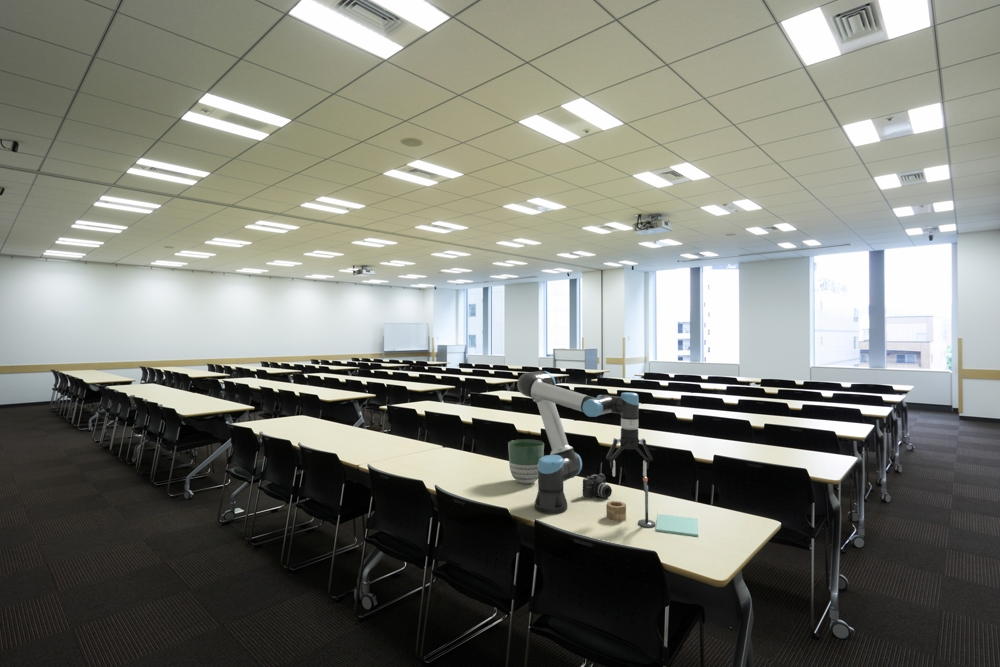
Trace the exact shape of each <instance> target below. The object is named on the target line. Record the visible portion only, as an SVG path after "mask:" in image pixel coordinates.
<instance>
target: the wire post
mask: <svg viewBox="0 0 1000 667" xmlns="http://www.w3.org/2000/svg"><path fill="white" fill-rule="evenodd" d="M648 480H649V478H648V477H647V476H646V477H644V476H643V477H642V481H643V491H644V516H645V518H643V519H639V520H638V521H637V524H638V526H639V527H642V528H648V529H649V528H656V522H655V521H654V520H650V519H649V485H648Z"/></svg>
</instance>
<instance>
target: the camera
mask: <svg viewBox="0 0 1000 667" xmlns="http://www.w3.org/2000/svg"><path fill="white" fill-rule="evenodd" d="M606 479H607V477H606V476H605V474H604V473H599V474H595V473H594V474H591V475H590V476H588V475H587V477H585V478H582V497H584V498H583V499H589V498H593V497H596V496H598V497H600V498H604V499H608V498H610V497H611V495H612V492H613V489H612V487H611V486H610V485H609V484H608V483H606V482H607V480H606Z"/></svg>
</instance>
